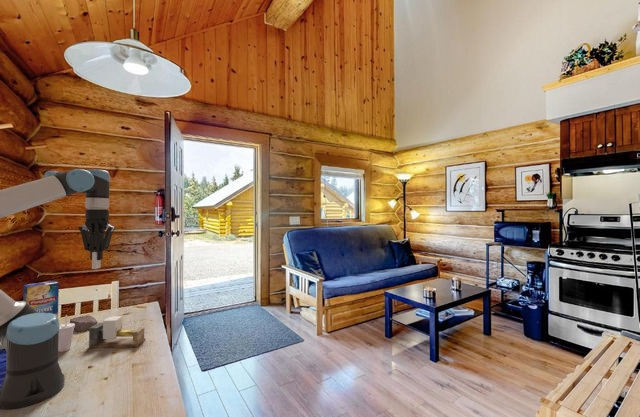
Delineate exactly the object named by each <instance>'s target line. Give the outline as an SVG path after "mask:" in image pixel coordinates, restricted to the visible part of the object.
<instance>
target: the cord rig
mask: <svg viewBox="0 0 640 417" xmlns="http://www.w3.org/2000/svg"><path fill="white" fill-rule="evenodd" d="M88 330H89V333H88V336H89V337H88V348H89V349H95V348H96V349H98V348H99V349H100V348H101V349H103V348H105V349H107V348H108V349H109V348H110V349H113V348H119V349H120V348H121V349H122V348H125V349H126V348H129V349H130V348H138V347H139V346H140V345H141V344H143V343H144V342H145V341H146V338H145V327H143V326H142V327H138V328H137V329H122V330H118V331H117V338H116V339H103V322H97V324H96V325H94V326H92V327H91V328H89V329H88ZM119 337H120V338H119ZM123 337H124V338H123ZM125 337H126V338H125ZM131 337H132V338H131Z"/></svg>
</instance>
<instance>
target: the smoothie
mask: <svg viewBox="0 0 640 417" xmlns="http://www.w3.org/2000/svg"><path fill="white" fill-rule="evenodd" d="M64 320H65V323H61V324H60V325H59V326H60V327H59V341H58V353H59V352H67V351H69V350H71V347H72V341H73V335H74V330H75V329H74V327H75V324H74V323H70V322H68V314H66V315H65V318H64Z"/></svg>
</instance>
